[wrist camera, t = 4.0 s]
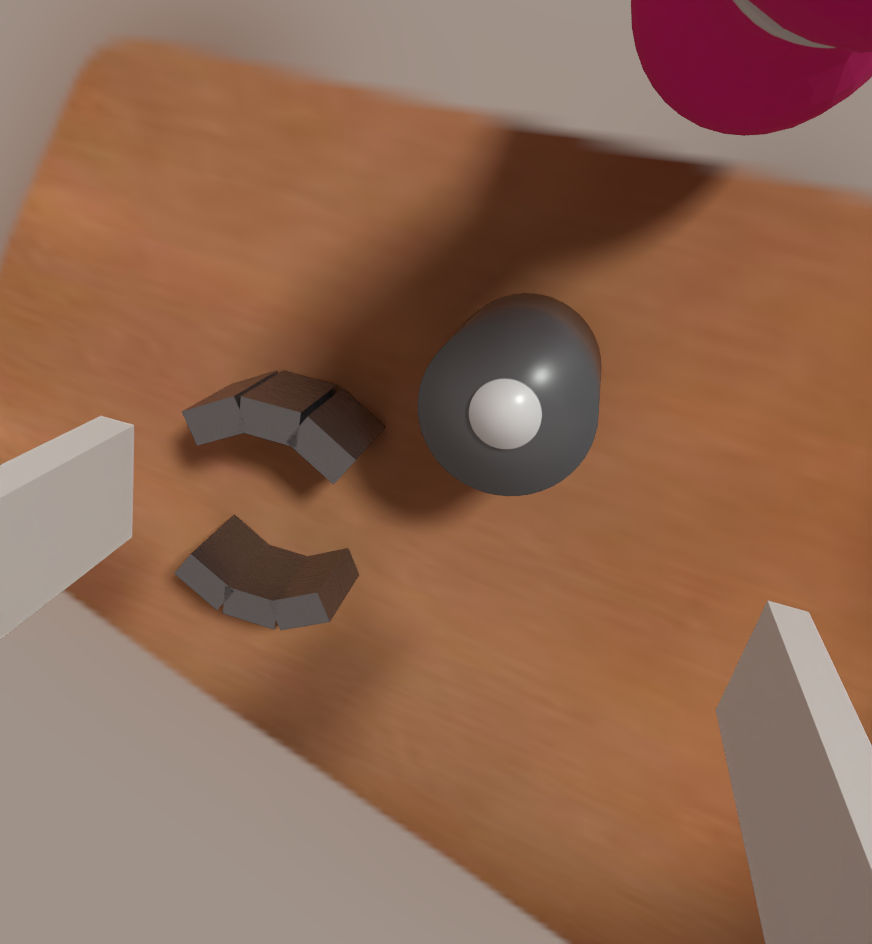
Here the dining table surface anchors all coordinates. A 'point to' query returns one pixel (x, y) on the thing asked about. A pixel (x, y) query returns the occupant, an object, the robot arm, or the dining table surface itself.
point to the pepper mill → (753, 58)
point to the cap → (513, 396)
